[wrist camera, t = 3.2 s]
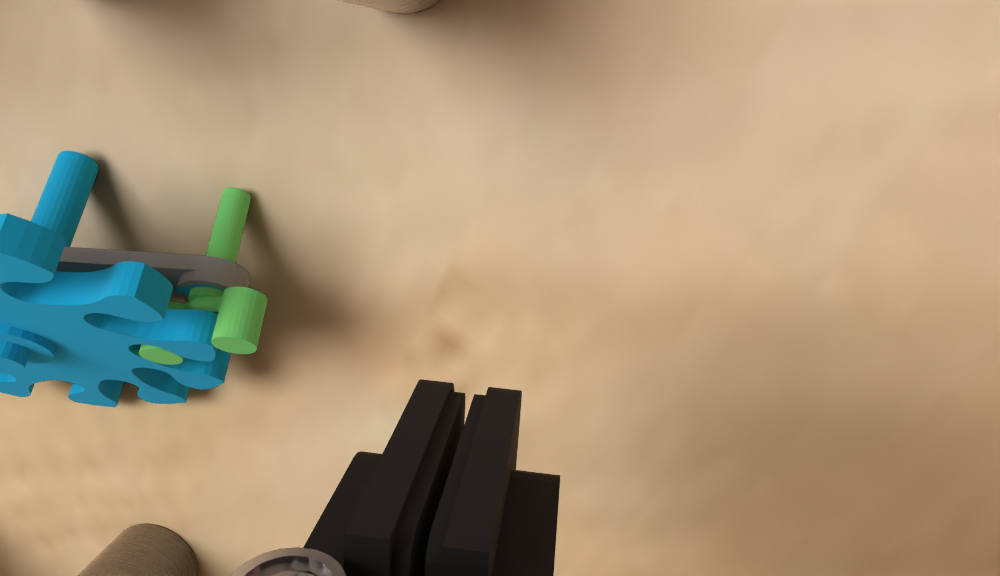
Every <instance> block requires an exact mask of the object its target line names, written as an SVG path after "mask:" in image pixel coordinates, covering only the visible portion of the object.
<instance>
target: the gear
mask: <svg viewBox="0 0 1000 576" xmlns="http://www.w3.org/2000/svg"><path fill="white" fill-rule="evenodd" d="M98 170H99V166H98V164H97V163H96V162H95V161H94V160H93V159H91V158H90V157H88V156H86V155H84V154H81V153H78V152H73V151H64V152H61V153H59V154H58V157H57V159H56V161H55V164H54V166H53V169H52V171H51V174H50V176H49V179H48V181H47V183H46V186H45V188H44V191H43V193H42V196H41V198H40V201H39V203H38V206H37V208H36V210H35V213H34V215H33V218H32V220H31V222H30V221H28V220H25V219H22V218H19V217H16V216H13V215H10V214H0V392H1V393H5V394H10V395H14V396H19V397H26V396H29V395H31V392H32V389H33V386H34V384H35V383H37V382H41V381H46V380H61V381H66V382H71V383H73V384H72V387H71V390H70V393H69V396H68V397H69V398H70V399H71V400H73V401H75V402H79V403H85V404H91V405H99V406H108V407H115V406H117V403H118V400H119V396H120V393H121V390H122V387H123V383H124V382H128V383H131V384H134V385H136V386H138V387H139V391H138V397H140V398H141V399H143V400H145V401H148V402H151V403H160V404H172V403H186V400H187V396H188V392H189V388H190V387H191V388H195V389H200V390H205V389H211V388H214V387H216V386H219V385H220V384H222V383H224V380H225V376H226V372H227V367H228V363H229V359H230V355H231V354H230V353H234V354H251V353H254V352H255V351H256V350H257V346H258V341H259V337H260V332H261V328H262V323H263V318H264V314H265V309H266V305H267V300H268V299H267V297H266V296H265V295H264V294H263V293H261V292H259V291H257V290H254V289H251V288H248V285H249V281H250V275H249V273H248V272H247V271H246V269H244V268H243V267H242V266H240V265H238V264H236V263H235V261H236V257H237V253H238V249H239V245H240V241H241V237H242V233H243V229H244V225H245V221H246V217H247V213H248V209H249V205H250V201H251V196H250V195H249V194H248V193H247V192H246V191H244V190H242V189H239V188H226V189H224V190H223V193H222V197H221V201H220V204H219V208H218V212H217V215H216V219H215V223H214V227H213V230H212V234H211V238H210V241H209V245H208V249H207V252H206V256H201V255H185V254H169V253H154V252H138V251H122V250H106V249H91V248H75V247H70V245H71V243H72V240H73V237H74V235H75V232H76V229H77V227H78V224H79V221H80V219H81V216H82V213H83V211H84V208H85V205H86V202H87V200H88V197H89V194H90V192H91V189H92V186H93V184H94V181H95V178H96V176H97V173H98ZM170 297H177V298H183V299H185V300H186V301H188V302H187V303H178V302H173V301H170ZM228 352H229V353H228Z"/></svg>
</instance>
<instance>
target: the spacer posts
mask: <svg viewBox="0 0 1000 576" xmlns="http://www.w3.org/2000/svg"><path fill="white" fill-rule="evenodd" d="M338 1H343V2H347V3H352V4H357V5H361V6H366V7H370V8H375V9H380V10H384V11H389V12H393V13H414V12H419V11H422V10H425V9H427V8H429V7H431V6H433V5H434V4H436V3H437V2H438V1H440V0H338ZM77 576H198V564H197V561H196V558H195V556H194V554H193V552H192V550H191V549H190V547H189V546H188V545H187V544H186V543H185V542H184V540H182V539H181V538H180V537H179V536H178V535H176V534H175V533H173V532H172V531H170V530H168V529H166V528H163V527H160V526H157V525H152V524H139V525H134V526H131V527H129V528H127V529H126V530H124V531H123V532H122V533H121V534H120V535H119V536H118V537H117V538H116V539H115V540H114V541H113V542H112V543H111V544H109V545H108V546H107V547H106V548H105V549H104V550H103V551H102V552H101V553H100V554H99V555H98V556H97V557H96V558H95V559H94V560H93V561H92V562H91V563H90V564H89V565H88V566H87V567H86V568H85V569H84V570H83V571H82V572H81V573H79V574H78V575H77Z"/></svg>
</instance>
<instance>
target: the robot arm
mask: <svg viewBox="0 0 1000 576" xmlns="http://www.w3.org/2000/svg"><path fill="white" fill-rule="evenodd" d="M521 397H522V391H519V390H510V389H501V388H492V387H488V390H487V393H486V396H485V395H476V394H475V395H474V397H473V400H472V403H471V406H470V410H469V413H468V416H467V419H466V422H465V425H464V418H465V393H458V392H454V384H453V383H447V382H438V381H429V380H419V382H418V383H417V385H416V387H415V389H414V391H413V393H412V395H411V397H410V400H409V402H408V404H407V406H406V408H405V410H404V412H403V414H402V416H401V418H400V420H399V422H398V424H397V426H396V428H395V430H394V432H393V434H392V436H391V438H390V440H389V442H388V444H387V446H386V448H385V450H384V452H383V454H377V453H369V452H358V453H357V454H356V455H355V457H354V458H353V460H352V461H351V463H350V465H349V467H348V469H347V470H346V472H345V474H344V476H343V478H342V479H341V481H340V483H339V485H338V487H337V488H336V490H335V492H334V494H333V495H332V497H331V499H330V501H329V503H328V504H327V506H326V508H325V510H324V512H323V513H322V515H321V517H320V519H319V521H318V522H317V524H316V526H315V528H314V530H313V531H312V533H311V535H310V537H309V538H308V540H307V542H306V544H305V546H304V547H303V548H299V547H297V548H285V549H278V550H274V551H271V552H267V553H264V554H261V555H259V556H257V557H255V558H253V559H251V560H249V561H247V562H246V563H244V564H243V565H242V566H241V567H240V568H239V569H237V570H236V571H235V572H234V573H233V574H232V575H231V576H553V573H554V558H555V544H556V529H557V515H558V500H559V486H560V475H552V474H543V473H535V472H527V471H518V470H516V460H517V447H518V435H519V423H520V410H521Z"/></svg>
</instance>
